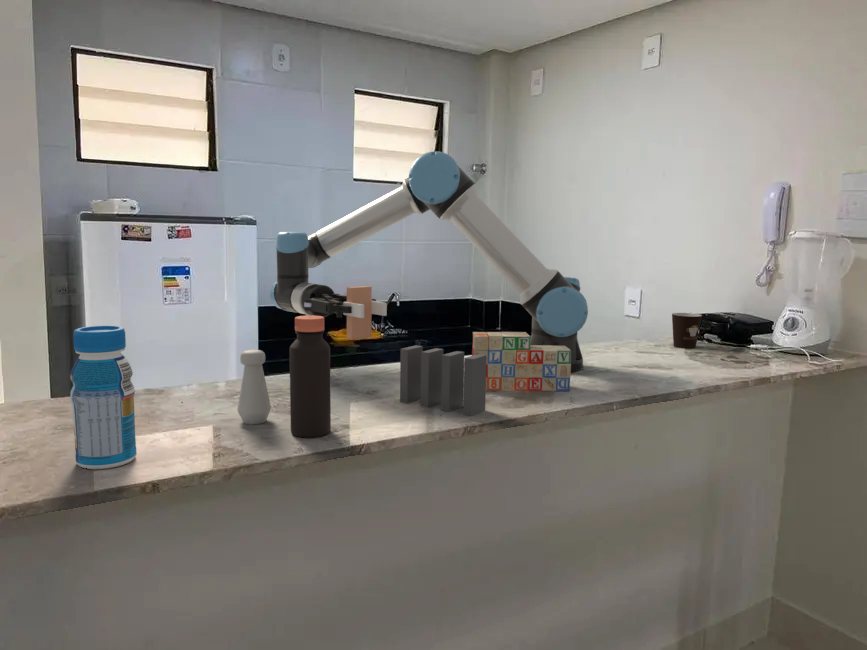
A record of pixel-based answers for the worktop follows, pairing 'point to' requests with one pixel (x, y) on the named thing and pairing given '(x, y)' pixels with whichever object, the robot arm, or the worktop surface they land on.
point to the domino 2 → (431, 377)
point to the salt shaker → (253, 389)
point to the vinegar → (310, 379)
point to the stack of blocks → (522, 362)
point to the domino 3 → (452, 381)
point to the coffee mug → (686, 329)
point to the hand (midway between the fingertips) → (374, 310)
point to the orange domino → (363, 326)
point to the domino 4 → (474, 384)
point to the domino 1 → (410, 374)
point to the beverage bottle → (102, 399)
